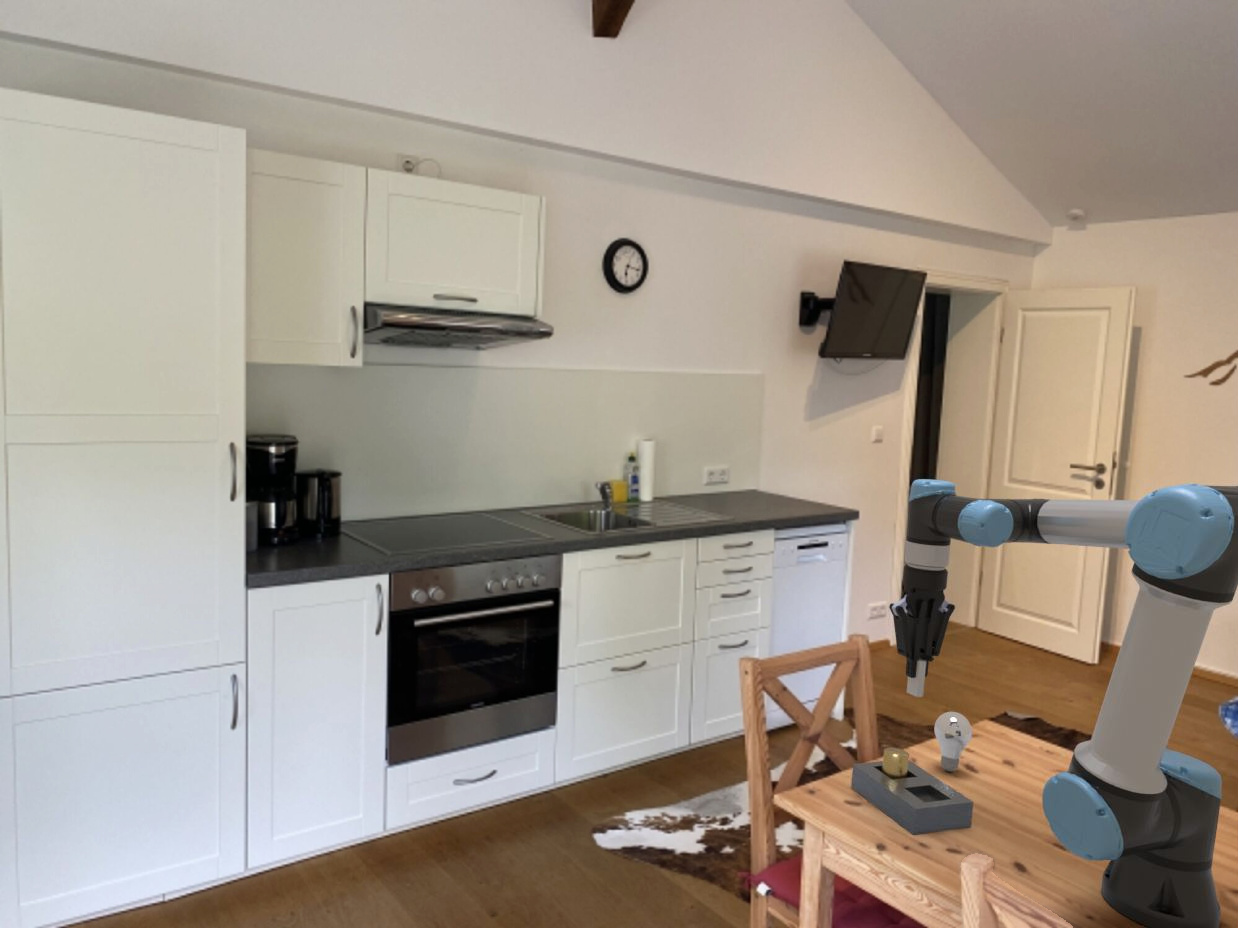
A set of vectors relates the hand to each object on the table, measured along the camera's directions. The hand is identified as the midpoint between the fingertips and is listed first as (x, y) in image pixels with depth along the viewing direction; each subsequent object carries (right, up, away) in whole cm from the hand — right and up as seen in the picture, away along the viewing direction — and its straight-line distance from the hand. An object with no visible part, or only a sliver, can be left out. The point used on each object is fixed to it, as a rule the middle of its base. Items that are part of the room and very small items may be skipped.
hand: (914, 694), depth 164 cm
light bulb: (+12, -19, +15) cm, 27 cm away
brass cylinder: (-3, -19, +3) cm, 20 cm away
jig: (-2, -20, -2) cm, 20 cm away
